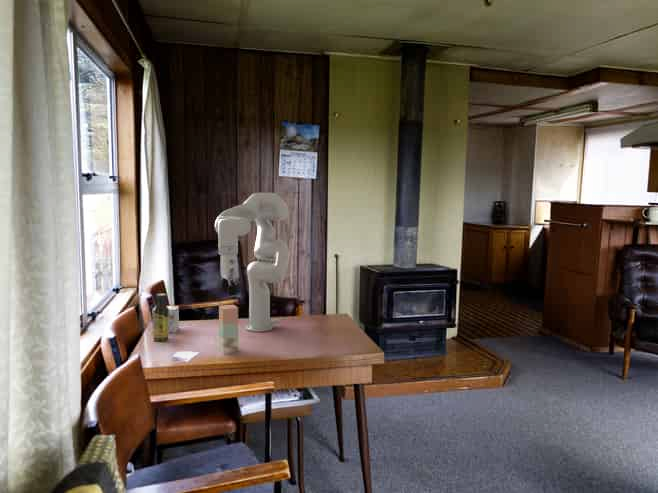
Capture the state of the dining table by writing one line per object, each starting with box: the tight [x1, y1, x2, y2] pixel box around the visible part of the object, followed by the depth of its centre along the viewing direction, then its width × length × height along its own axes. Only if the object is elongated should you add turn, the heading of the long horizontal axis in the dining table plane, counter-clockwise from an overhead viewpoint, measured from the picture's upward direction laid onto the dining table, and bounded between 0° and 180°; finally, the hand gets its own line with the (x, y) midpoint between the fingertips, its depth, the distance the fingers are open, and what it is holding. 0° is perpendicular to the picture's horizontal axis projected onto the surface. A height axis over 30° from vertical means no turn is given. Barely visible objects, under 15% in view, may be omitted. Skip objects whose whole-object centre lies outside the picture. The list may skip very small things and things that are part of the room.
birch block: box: [218, 334, 239, 355], centre depth 198 cm, size 6×6×6 cm
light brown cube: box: [218, 304, 239, 324], centre depth 197 cm, size 6×6×6 cm
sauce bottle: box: [152, 293, 170, 342], centre depth 210 cm, size 6×6×20 cm
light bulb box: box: [151, 305, 180, 333], centre depth 225 cm, size 11×7×11 cm, turn 95°
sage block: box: [218, 320, 239, 339], centre depth 197 cm, size 6×6×6 cm
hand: (229, 292), depth 196 cm, fingers open, 9 cm apart
